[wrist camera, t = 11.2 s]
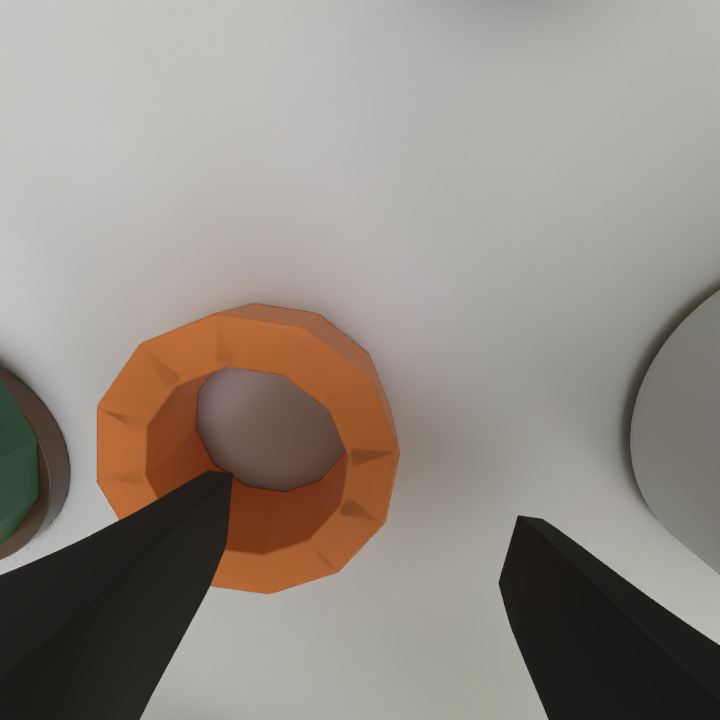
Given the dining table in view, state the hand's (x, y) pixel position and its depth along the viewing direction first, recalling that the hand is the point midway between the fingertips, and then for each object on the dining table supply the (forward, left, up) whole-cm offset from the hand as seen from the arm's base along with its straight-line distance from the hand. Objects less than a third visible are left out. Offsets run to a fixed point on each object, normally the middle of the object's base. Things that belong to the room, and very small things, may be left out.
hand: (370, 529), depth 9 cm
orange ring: (0, +4, -6) cm, 7 cm away
